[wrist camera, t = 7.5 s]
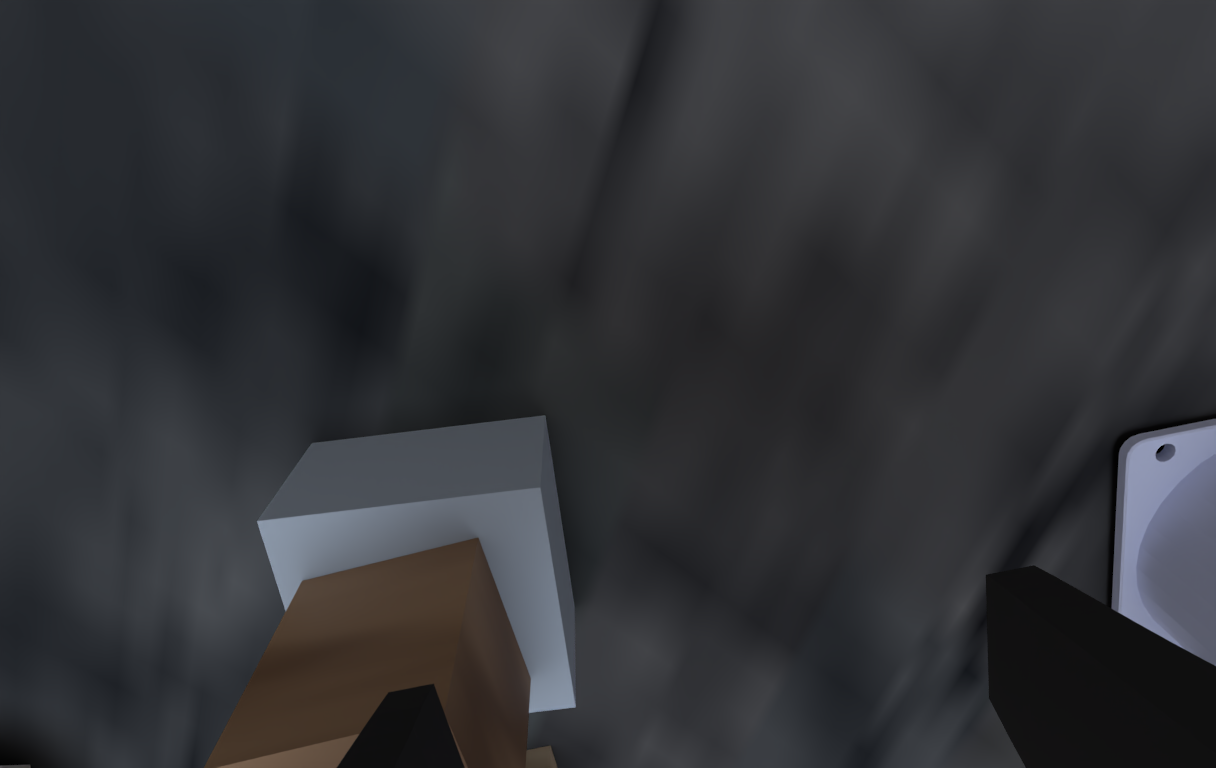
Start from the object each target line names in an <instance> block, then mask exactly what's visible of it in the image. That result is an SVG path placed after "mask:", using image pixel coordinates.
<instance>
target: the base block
mask: <svg viewBox="0 0 1216 768" xmlns="http://www.w3.org/2000/svg"><path fill="white" fill-rule="evenodd" d="M257 523H258V526H259V529H260V532H261V535H262V538H263V542H264V545H265V548H266V551H267V554H268V557H269V560H270V564H271V567H272V570H273V573H274V576H275V579H276V582H277V585H278V589H279V592H280V595H281V598H282V601H283V604H284V607H285V610H287V608H288V607H289V605H290V603H291V601H292V599H293V597H294V595H295V593H296V591H297V589H298V587H299V586H300V584H301V582H302V581H304V580H308V579H312V578H316V577H320V576H324V575H328V574H332V573H336V572H340V571H344V570H348V569H352V568H356V567H361V566H365V565H369V564H373V563H377V562H381V561H385V560H389V559H393V558H397V557H401V556H405V555H409V554H413V553H417V552H421V551H425V550H429V549H433V548H437V547H442V546H446V545H450V544H454V543H458V542H462V541H466V540H470V539H474V538H479V540H480V543H481V546H482V548H483V551H484V554H485V557H486V559H487V562H488V565H489V567H490V570H491V573H492V575H493V578H494V581H495V583H496V586H497V589H498V591H499V594H500V597H501V599H502V602H503V605H504V607H505V610H506V613H507V616H508V618H509V621H510V624H511V626H512V629H513V632H514V634H515V637H516V640H517V642H518V645H519V648H520V650H521V653H522V656H523V658H524V661H525V664H526V667H527V669H528V672H529V675H530V677H531V686H530V702H529V713H531V712H540V711H548V710H556V709H565V708H573V707H576V678H575V605H574V599H573V592H572V586H571V579H570V573H569V566H568V559H567V553H566V546H565V540H564V533H563V527H562V520H561V514H560V507H559V501H558V494H557V488H556V481H555V474H554V468H553V461H552V455H551V448H550V442H549V435H548V429H547V422H546V416H545V415H543V416H535V417H527V418H518V419H510V420H501V421H493V422H485V423H476V424H468V425H460V426H451V427H443V428H435V429H426V430H418V431H410V432H401V433H393V434H384V435H376V436H368V437H359V438H351V439H343V440H334V441H326V442H318V443H311V445H310V446H309V448H308V449H307V451H306V452H305V453H304V455H303V456H302V458H301V459H300V461H299V462H298V463H297V465H296V466H295V468H294V469H293V471H292V472H291V473H290V475H289V476H288V478H287V479H286V481H285V482H284V483H283V485H282V486H281V488H280V489H279V490H278V492H277V493H276V495H275V496H274V498H273V499H272V500H271V502H270V503H269V505H268V506H267V508H266V509H265V510H264V512H263V513H262V515H261V516H260V518H259V519H258V520H257Z"/></svg>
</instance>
